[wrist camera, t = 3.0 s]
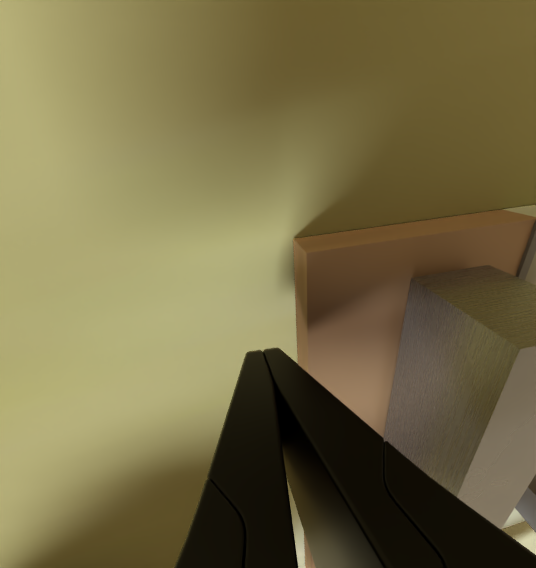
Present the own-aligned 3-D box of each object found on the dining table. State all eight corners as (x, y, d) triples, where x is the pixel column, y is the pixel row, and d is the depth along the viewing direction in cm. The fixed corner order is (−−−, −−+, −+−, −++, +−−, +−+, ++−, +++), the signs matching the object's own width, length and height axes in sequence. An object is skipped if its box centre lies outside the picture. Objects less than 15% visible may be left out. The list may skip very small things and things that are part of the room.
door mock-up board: (533, 493, 21) (591, 554, 18) (305, 565, 18) (325, 650, 15) (741, 175, 11) (958, 189, 8) (293, 238, 8) (347, 296, 5)
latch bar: (425, 501, 14) (490, 606, 11) (357, 521, 13) (404, 637, 10) (506, 261, 8) (701, 338, 5) (391, 281, 8) (525, 381, 4)
